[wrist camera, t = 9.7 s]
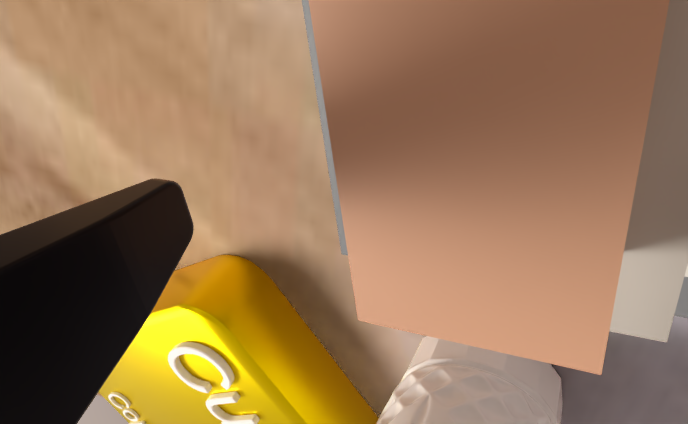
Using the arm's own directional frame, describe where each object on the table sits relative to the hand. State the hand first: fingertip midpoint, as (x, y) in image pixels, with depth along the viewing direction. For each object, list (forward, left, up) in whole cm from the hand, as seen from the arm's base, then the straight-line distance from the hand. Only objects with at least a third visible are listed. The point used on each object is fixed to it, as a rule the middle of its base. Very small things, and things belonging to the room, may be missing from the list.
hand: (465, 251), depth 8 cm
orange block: (0, 0, -4) cm, 4 cm away
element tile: (+17, +23, -13) cm, 31 cm away
